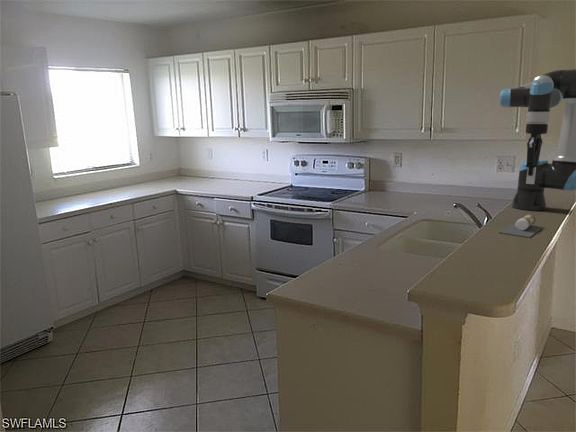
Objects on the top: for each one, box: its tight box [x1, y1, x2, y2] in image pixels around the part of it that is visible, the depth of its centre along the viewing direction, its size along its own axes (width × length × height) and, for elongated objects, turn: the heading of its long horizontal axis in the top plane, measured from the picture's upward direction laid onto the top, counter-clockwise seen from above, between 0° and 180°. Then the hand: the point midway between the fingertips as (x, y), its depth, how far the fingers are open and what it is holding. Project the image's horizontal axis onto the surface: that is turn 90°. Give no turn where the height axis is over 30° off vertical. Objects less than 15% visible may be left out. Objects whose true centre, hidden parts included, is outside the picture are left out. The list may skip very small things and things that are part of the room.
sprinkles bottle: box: [515, 213, 537, 231], centre depth 194 cm, size 5×5×14 cm
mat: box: [498, 222, 544, 239], centre depth 191 cm, size 20×11×1 cm, turn 140°
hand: (530, 183), depth 191 cm, fingers closed
